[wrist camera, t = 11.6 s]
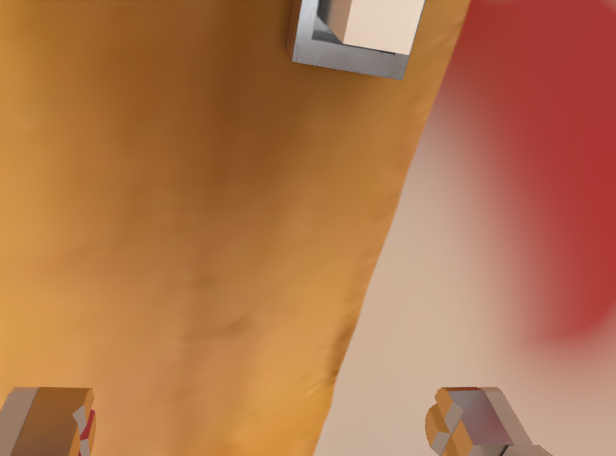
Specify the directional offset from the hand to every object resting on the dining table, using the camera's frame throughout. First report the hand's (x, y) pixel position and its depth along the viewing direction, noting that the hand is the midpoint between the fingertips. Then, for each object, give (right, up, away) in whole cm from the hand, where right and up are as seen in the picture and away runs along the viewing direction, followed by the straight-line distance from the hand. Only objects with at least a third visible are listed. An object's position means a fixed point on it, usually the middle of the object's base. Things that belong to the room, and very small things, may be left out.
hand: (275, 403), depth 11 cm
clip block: (+3, +19, +18) cm, 27 cm away
